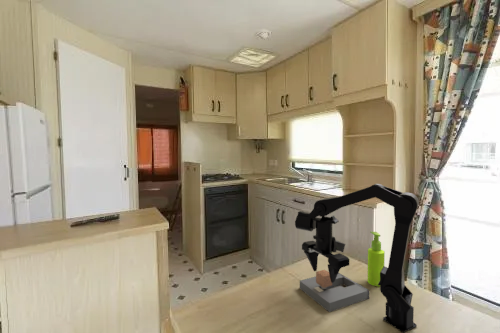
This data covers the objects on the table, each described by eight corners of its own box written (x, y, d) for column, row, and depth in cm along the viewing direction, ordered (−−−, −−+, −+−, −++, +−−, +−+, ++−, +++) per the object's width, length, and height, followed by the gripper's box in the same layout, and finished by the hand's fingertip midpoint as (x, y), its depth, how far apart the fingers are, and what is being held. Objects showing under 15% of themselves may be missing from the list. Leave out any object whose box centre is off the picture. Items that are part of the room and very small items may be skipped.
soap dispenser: (379, 278, 101) (379, 230, 100) (386, 287, 94) (387, 236, 93) (364, 277, 101) (365, 230, 101) (370, 286, 95) (371, 235, 94)
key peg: (333, 297, 87) (333, 274, 86) (323, 300, 85) (323, 277, 85) (324, 291, 91) (324, 269, 90) (315, 294, 89) (315, 271, 89)
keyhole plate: (336, 278, 101) (336, 271, 101) (369, 298, 86) (369, 290, 86) (299, 288, 93) (299, 280, 93) (329, 312, 79) (329, 303, 78)
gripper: (361, 238, 82) (360, 283, 83) (323, 224, 99) (323, 262, 100) (336, 243, 77) (336, 291, 78) (301, 228, 94) (300, 267, 95)
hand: (323, 276), depth 88 cm, fingers open, 9 cm apart
